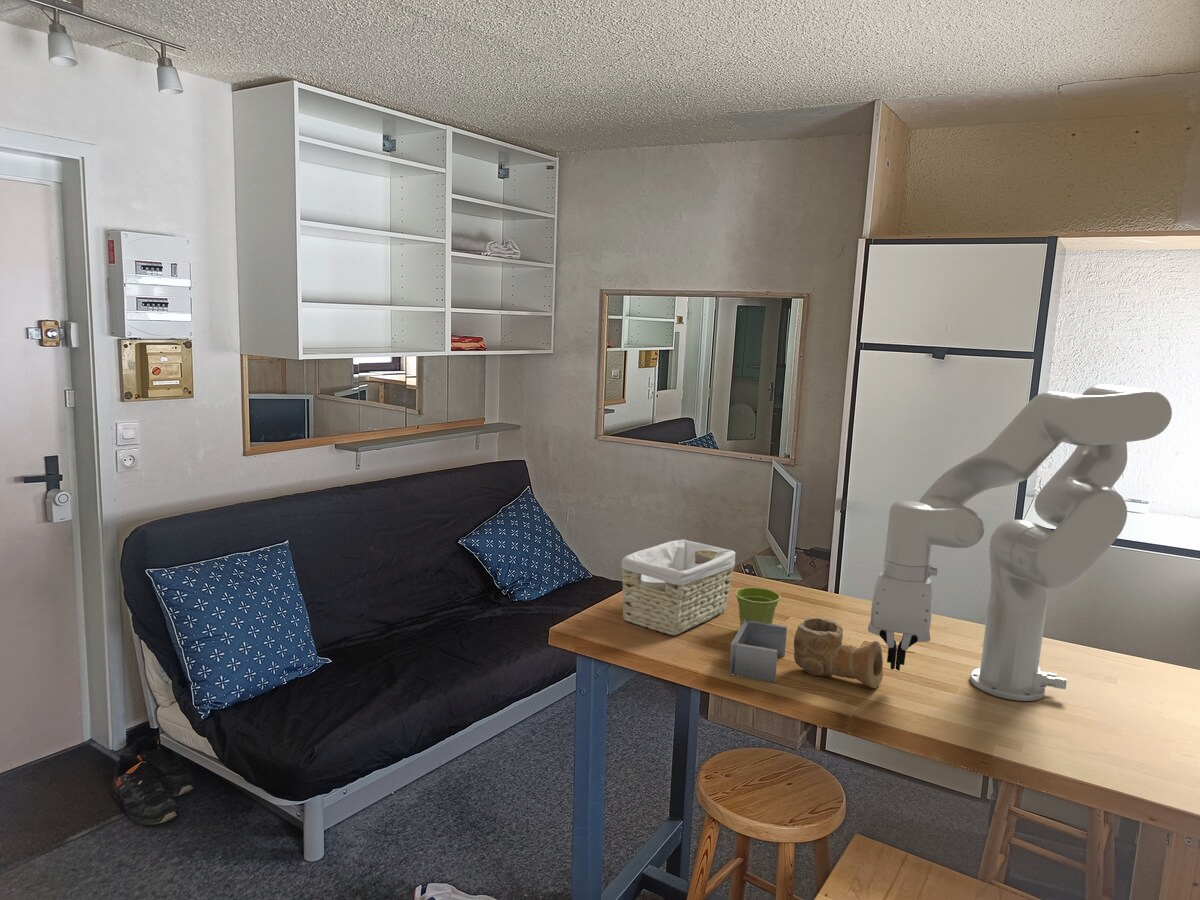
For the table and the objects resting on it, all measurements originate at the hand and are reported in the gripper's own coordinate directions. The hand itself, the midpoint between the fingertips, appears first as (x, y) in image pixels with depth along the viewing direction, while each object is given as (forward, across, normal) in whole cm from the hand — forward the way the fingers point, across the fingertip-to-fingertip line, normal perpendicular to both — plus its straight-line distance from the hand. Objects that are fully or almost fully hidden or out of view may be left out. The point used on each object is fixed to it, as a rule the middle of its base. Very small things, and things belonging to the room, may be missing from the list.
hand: (895, 666), depth 152 cm
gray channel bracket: (+4, +25, 0) cm, 25 cm away
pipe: (+5, +10, 0) cm, 11 cm away
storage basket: (+5, +46, -18) cm, 49 cm away
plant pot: (+5, +28, -16) cm, 33 cm away
